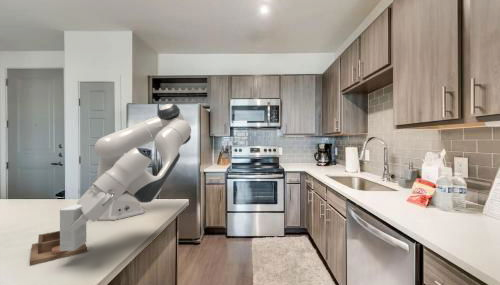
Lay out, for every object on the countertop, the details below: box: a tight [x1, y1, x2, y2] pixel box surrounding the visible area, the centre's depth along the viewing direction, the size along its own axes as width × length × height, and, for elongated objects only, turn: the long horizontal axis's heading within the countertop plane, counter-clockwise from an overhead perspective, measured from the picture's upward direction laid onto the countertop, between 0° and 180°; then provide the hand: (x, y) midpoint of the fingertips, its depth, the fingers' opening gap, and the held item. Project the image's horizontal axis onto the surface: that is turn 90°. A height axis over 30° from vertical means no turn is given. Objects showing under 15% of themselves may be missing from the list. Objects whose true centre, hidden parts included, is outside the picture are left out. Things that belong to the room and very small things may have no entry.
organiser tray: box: [29, 230, 88, 266], centre depth 81 cm, size 14×16×4 cm
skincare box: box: [59, 204, 87, 251], centre depth 73 cm, size 6×4×12 cm
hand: (71, 224), depth 73 cm, fingers closed on skincare box, 7 cm apart
